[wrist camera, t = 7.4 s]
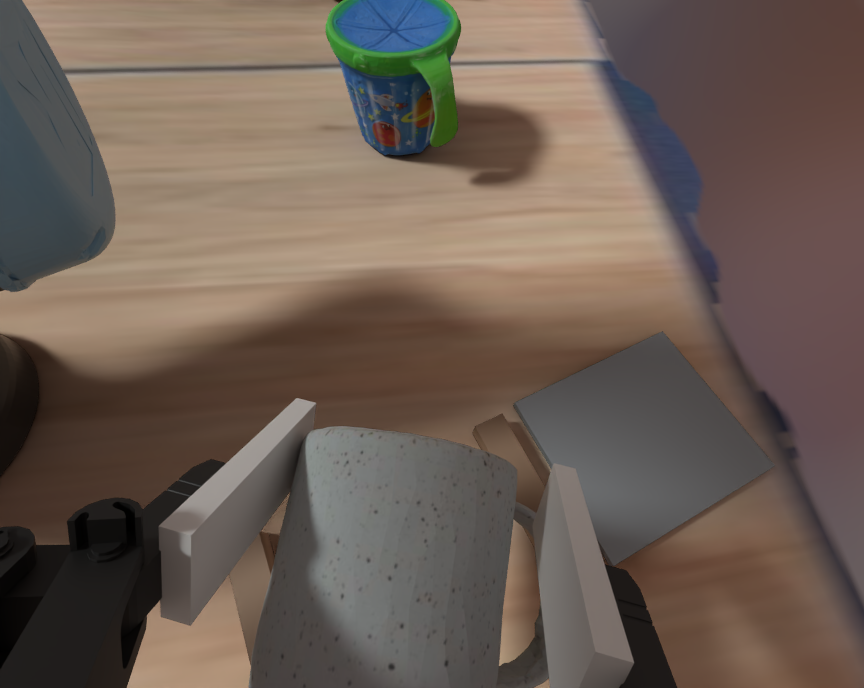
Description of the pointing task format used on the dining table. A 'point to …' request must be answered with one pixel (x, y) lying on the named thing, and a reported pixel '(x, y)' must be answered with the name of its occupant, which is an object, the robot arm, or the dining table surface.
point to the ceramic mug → (393, 568)
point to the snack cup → (398, 70)
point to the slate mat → (642, 443)
